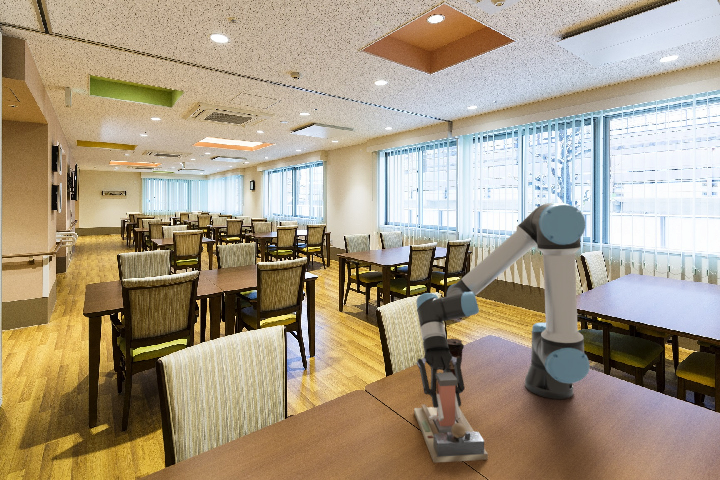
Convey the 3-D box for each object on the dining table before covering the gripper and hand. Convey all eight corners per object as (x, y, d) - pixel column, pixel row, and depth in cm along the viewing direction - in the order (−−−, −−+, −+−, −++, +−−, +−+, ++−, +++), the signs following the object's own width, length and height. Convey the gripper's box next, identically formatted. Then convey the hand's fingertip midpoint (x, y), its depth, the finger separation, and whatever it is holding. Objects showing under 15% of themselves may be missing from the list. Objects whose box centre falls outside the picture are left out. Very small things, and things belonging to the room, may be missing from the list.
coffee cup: (464, 380, 139) (464, 346, 138) (441, 378, 141) (441, 344, 140) (462, 370, 148) (463, 337, 147) (440, 368, 150) (441, 336, 148)
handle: (452, 417, 112) (452, 370, 111) (459, 431, 106) (460, 381, 104) (426, 419, 112) (426, 371, 111) (432, 433, 105) (432, 382, 104)
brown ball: (462, 432, 99) (463, 419, 99) (467, 441, 96) (467, 427, 96) (449, 433, 99) (449, 420, 99) (453, 441, 96) (453, 428, 95)
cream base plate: (458, 410, 119) (458, 402, 119) (487, 459, 96) (487, 449, 96) (414, 412, 118) (414, 404, 118) (433, 462, 96) (433, 452, 95)
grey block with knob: (478, 444, 100) (478, 427, 100) (483, 454, 96) (484, 436, 96) (433, 446, 99) (433, 429, 99) (437, 456, 95) (437, 439, 95)
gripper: (458, 343, 123) (476, 421, 108) (406, 345, 122) (417, 424, 107) (464, 333, 117) (484, 413, 102) (409, 335, 116) (421, 417, 101)
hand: (449, 419), depth 105 cm, fingers closed on handle, 4 cm apart
